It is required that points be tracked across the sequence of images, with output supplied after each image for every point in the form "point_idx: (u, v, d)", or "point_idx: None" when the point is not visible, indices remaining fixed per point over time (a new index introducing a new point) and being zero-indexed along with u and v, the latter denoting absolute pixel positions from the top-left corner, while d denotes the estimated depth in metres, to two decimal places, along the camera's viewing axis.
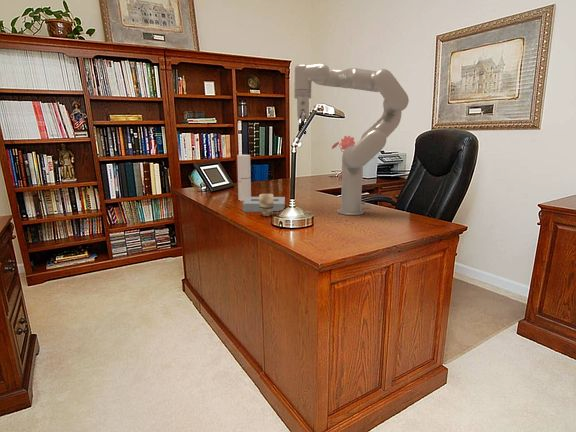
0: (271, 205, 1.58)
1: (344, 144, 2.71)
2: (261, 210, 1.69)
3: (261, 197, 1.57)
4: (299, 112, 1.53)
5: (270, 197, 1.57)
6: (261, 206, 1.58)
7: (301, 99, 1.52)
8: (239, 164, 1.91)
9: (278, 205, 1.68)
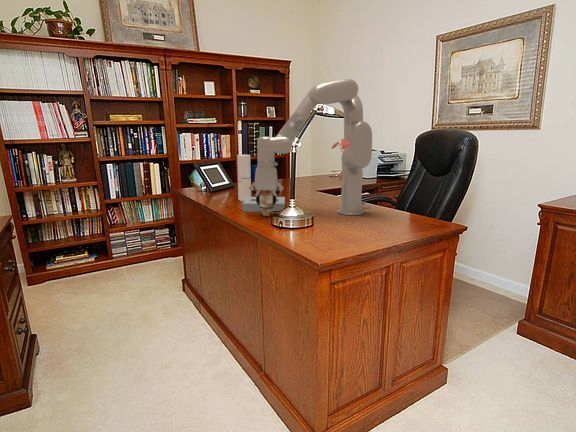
0: (271, 205, 1.58)
1: (344, 144, 2.71)
2: (261, 210, 1.69)
3: (261, 197, 1.57)
4: (276, 183, 1.56)
5: (270, 197, 1.57)
6: (261, 206, 1.58)
7: (276, 170, 1.56)
8: (239, 164, 1.91)
9: (278, 205, 1.68)
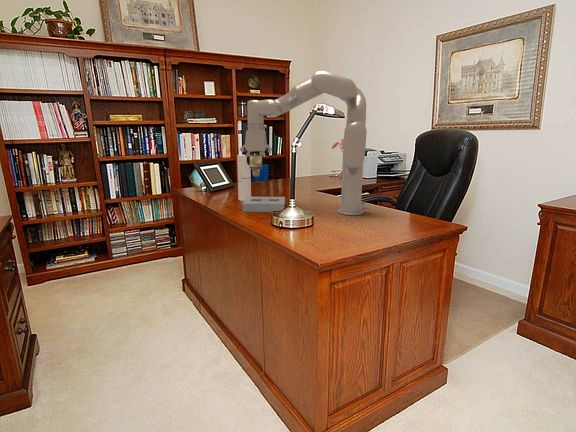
0: (260, 165, 1.69)
1: None
2: (261, 210, 1.69)
3: (251, 157, 1.68)
4: (265, 144, 1.67)
5: (259, 157, 1.68)
6: (251, 166, 1.69)
7: (265, 132, 1.67)
8: (239, 164, 1.91)
9: (278, 205, 1.68)
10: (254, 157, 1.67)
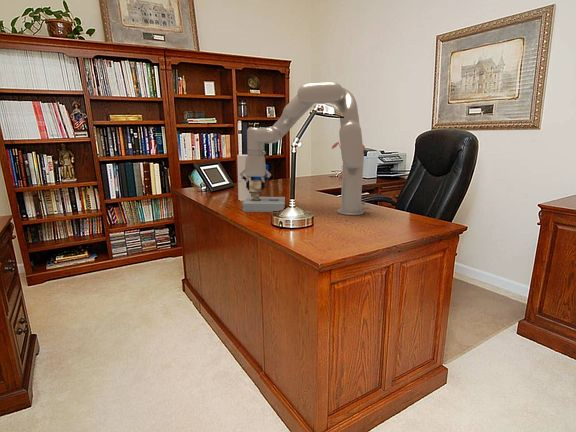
0: (260, 190, 1.74)
1: None
2: (261, 210, 1.69)
3: (250, 183, 1.72)
4: (265, 170, 1.72)
5: (259, 183, 1.72)
6: (250, 191, 1.73)
7: (264, 158, 1.71)
8: (239, 164, 1.91)
9: (278, 205, 1.68)
10: (253, 182, 1.72)
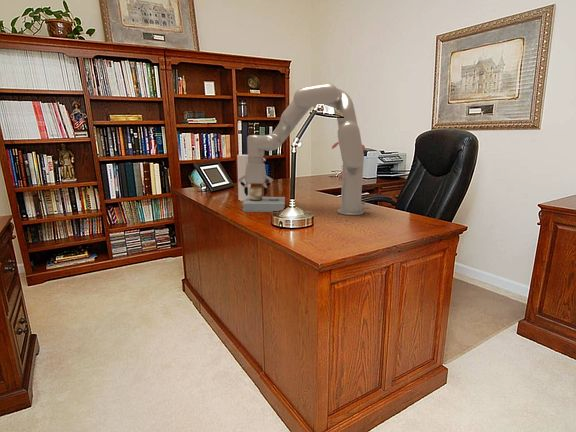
0: (260, 197, 1.75)
1: None
2: (261, 210, 1.69)
3: (251, 190, 1.73)
4: (265, 177, 1.73)
5: (259, 190, 1.73)
6: (251, 198, 1.74)
7: (264, 165, 1.72)
8: (239, 164, 1.91)
9: (278, 205, 1.68)
10: (254, 190, 1.72)
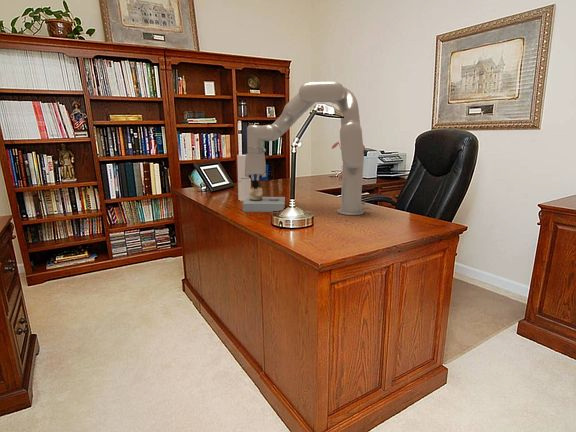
0: (260, 197, 1.75)
1: None
2: (261, 210, 1.69)
3: (251, 190, 1.73)
4: (265, 167, 1.71)
5: (259, 190, 1.73)
6: (251, 198, 1.74)
7: (264, 156, 1.71)
8: (239, 164, 1.91)
9: (278, 205, 1.68)
10: (254, 190, 1.72)
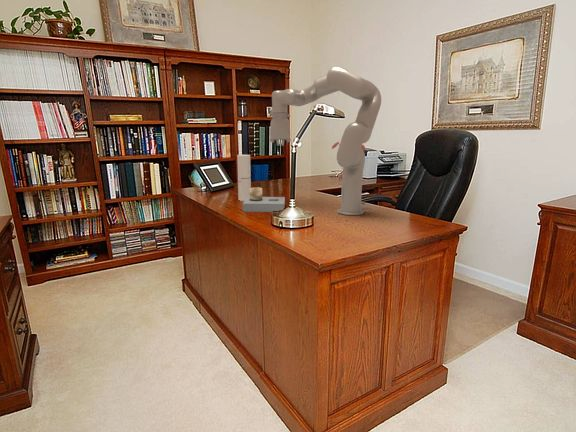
0: (260, 197, 1.75)
1: None
2: (261, 210, 1.69)
3: (251, 190, 1.73)
4: (289, 132, 1.77)
5: (259, 190, 1.73)
6: (251, 198, 1.74)
7: (288, 121, 1.76)
8: (239, 164, 1.91)
9: (278, 205, 1.68)
10: (254, 190, 1.72)
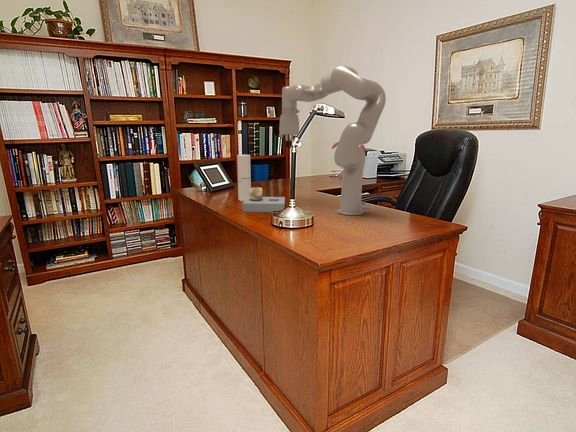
0: (260, 197, 1.75)
1: None
2: (261, 210, 1.69)
3: (251, 190, 1.73)
4: (298, 128, 1.79)
5: (259, 190, 1.73)
6: (251, 198, 1.74)
7: None
8: (239, 164, 1.91)
9: (278, 205, 1.68)
10: (254, 190, 1.72)
